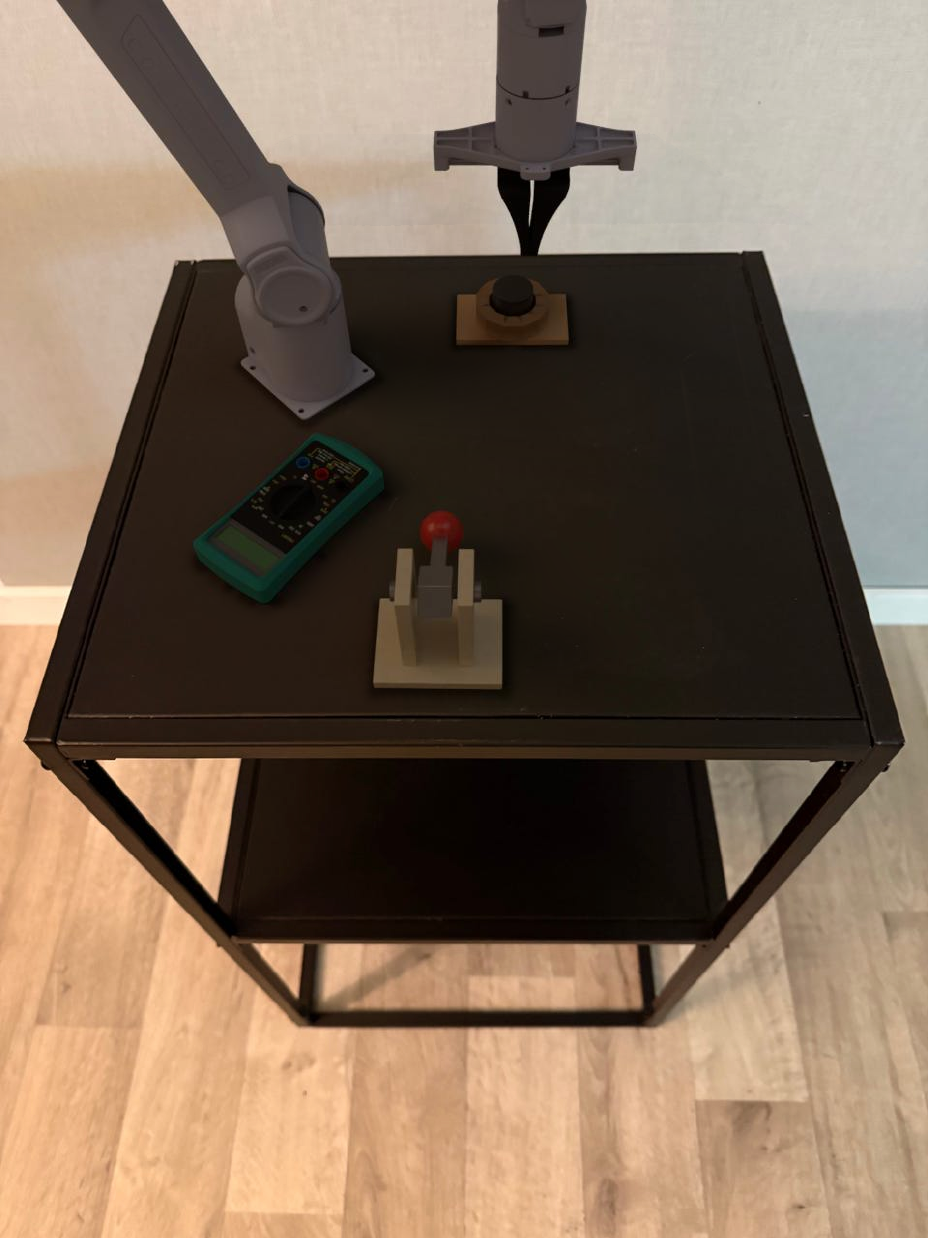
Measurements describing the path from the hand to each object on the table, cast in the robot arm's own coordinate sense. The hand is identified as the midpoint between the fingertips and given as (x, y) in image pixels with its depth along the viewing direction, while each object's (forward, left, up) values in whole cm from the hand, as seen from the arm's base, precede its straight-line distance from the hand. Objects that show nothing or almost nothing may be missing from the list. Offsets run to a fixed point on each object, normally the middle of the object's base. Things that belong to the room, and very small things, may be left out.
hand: (528, 248), depth 75 cm
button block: (-3, +2, -10) cm, 11 cm away
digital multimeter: (+2, -27, -11) cm, 29 cm away
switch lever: (+16, -24, -6) cm, 29 cm away
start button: (-3, +2, -8) cm, 9 cm away
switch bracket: (+18, -26, -10) cm, 33 cm away
